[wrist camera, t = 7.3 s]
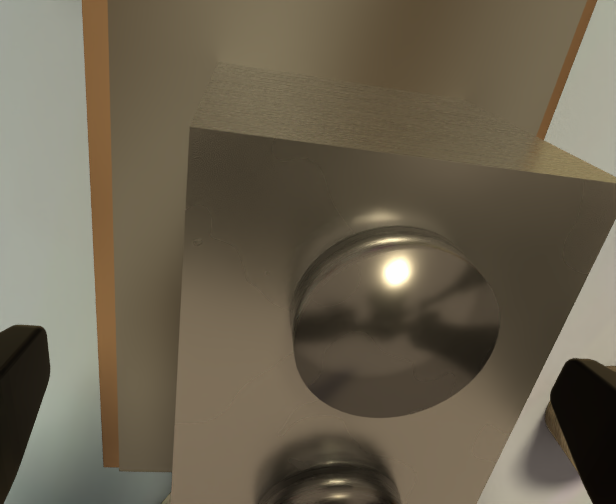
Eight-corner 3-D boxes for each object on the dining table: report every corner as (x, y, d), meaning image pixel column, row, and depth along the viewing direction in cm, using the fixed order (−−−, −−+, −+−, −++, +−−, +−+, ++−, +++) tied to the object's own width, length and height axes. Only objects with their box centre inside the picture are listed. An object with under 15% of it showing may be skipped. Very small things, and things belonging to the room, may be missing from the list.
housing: (377, 391, 14) (449, 617, 9) (195, 383, 13) (160, 627, 8) (464, 100, 10) (671, 205, 5) (218, 62, 9) (181, 143, 4)
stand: (564, -84, 11) (659, -107, 9) (397, 417, 19) (421, 488, 16) (109, -188, 10) (57, -255, 7) (121, 407, 17) (98, 484, 14)
